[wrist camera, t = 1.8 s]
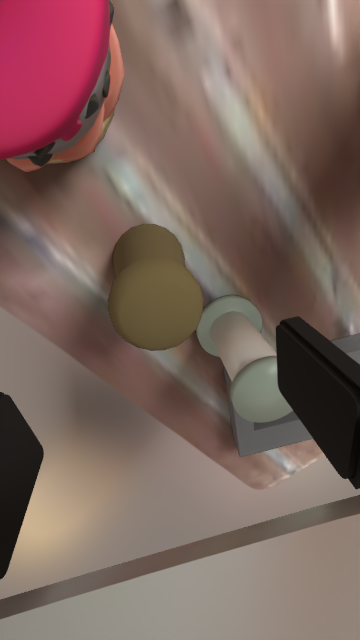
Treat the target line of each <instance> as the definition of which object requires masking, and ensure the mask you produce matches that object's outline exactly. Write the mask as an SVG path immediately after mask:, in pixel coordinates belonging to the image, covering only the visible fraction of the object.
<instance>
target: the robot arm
mask: <svg viewBox="0 0 360 640" xmlns="http://www.w3.org/2000/svg"><path fill="white" fill-rule="evenodd" d="M276 349H277V382H278V388H279V391H280V393H281V394H282V396H283V397H284V399H285V400H286V401H287V403H288V404H289V405H290V407H291V408H292V410H293V411H294V412H295V414H296V415H297V417H298V418H299V419H300V421H301V422H302V424H303V425H304V426H305V428H306V429H307V431H308V432H309V433H310V435H311V436H312V438H313V439H314V440H315V442H316V443H317V444H318V446H319V447H320V449H321V450H322V451H323V453H324V454H325V456H326V457H327V458H328V460H329V461H330V463H331V464H332V465H333V467H334V468H335V469H336V471H337V472H338V474H339V475H340V476H341V477H342V478H344V479H347V478H348V479H349V480H350V482H351V483H352V485H353V486H354V487H355V489H359V488H360V364H359V363H357V362H356V361H355V360H353V359H352V358H351V357H350V356H348V355H347V354H346V353H345V352H343V351H342V350H341V349H339V348H338V347H337V346H336V345H334V344H333V343H332V342H331V341H329V340H328V339H327V338H325V337H324V336H323V335H322V334H320V333H319V332H318V331H317V330H315V329H314V328H313V327H312V326H310V325H309V324H308V323H306V322H305V321H304V320H303V319H301V318H300V317H293V318H289V319H285V320H282V321H281V322H280V325H278V326H277V327H276ZM43 454H44V453H43V448H42V445H41V444H40V442H39V441H38V439H37V438H36V436H35V435H34V433H33V431H32V430H31V428H30V427H29V425H28V424H27V422H26V421H25V419H24V417H23V416H22V414H21V413H20V411H19V410H18V408H17V406H16V405H15V404H14V402H13V400H12V399H11V397H10V396H9V395H5V394H4V393H2V392H0V579H2V578H3V577H4V576H5V574H6V572H7V570H8V567H9V563H10V560H11V557H12V554H13V551H14V548H15V545H16V542H17V538H18V535H19V532H20V528H21V526H22V522H23V519H24V516H25V513H26V510H27V507H28V504H29V501H30V497H31V494H32V491H33V488H34V485H35V482H36V479H37V476H38V472H39V469H40V466H41V463H42V460H43ZM0 640H360V495H358V496H354V497H351V498H347V499H343V500H339V501H336V502H332V503H328V504H324V505H321V506H317V507H313V508H310V509H306V510H303V511H299V512H296V513H293V514H289V515H285V516H282V517H279V518H275V519H272V520H269V521H265V522H261V523H258V524H254V525H251V526H248V527H244V528H241V529H237V530H234V531H230V532H227V533H223V534H220V535H216V536H213V537H210V538H206V539H203V540H199V541H196V542H192V543H189V544H186V545H182V546H179V547H176V548H172V549H169V550H165V551H162V552H158V553H155V554H152V555H148V556H145V557H141V558H138V559H135V560H131V561H128V562H125V563H121V564H118V565H114V566H111V567H108V568H104V569H101V570H98V571H94V572H91V573H87V574H84V575H81V576H77V577H74V578H71V579H68V580H64V581H61V582H58V583H54V584H51V585H47V586H44V587H41V588H38V589H34V590H31V591H28V592H24V593H21V594H18V595H14V596H11V597H8V598H5V599H1V600H0Z"/></svg>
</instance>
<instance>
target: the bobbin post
mask: <svg viewBox="0 0 360 640" xmlns="http://www.w3.org/2000/svg"><path fill="white" fill-rule="evenodd" d="M261 330H262V317H261V314H260V312H259V311H258V309H257V308H256V307H255V306H254V305H253V304H252V303H251V302H250V301H249V300H247V299H246V298H244V297H241V296H236V295H228V296H223V297H219V298H217V299H215V300H213V301H211V302H210V303H209V304H207V305H206V306H205V307H204V309H203V310H202V317H201V320H200V322H199V324H198V327H197V329H196V334H197V337H198V340H199V342H200V344H201V346H202V348H203V349H204V350H205V351H206V352H208V353H209V354H211V355H213V356H216V357H220V358H221V360H222V362H223V364H224V366H225V368H226V371H227V373H228V375H229V377H230V379H231V381H232V383H231V387H230V398H231V401H232V403H233V406H234V408H235V410H236V412H237V413H238V414H239V415H240V416H241V417H242V418H244V419H245V420H248V421H251V422H258V423H263V422H270V421H274V420H277V419H279V418H282V417H284V416H286V415H287V414H289V413H290V412H292V411H293V410H292V408H291V407H290V405H289V404H288V403H287V401H286V400H285V399H284V397H283V396H282V394H281V393H280V391H279V388H278V382H277V354H276V352H275V351H274V350H273V349H272V347H271V346H270V345H269V344H268V342H267V341H266V340H265V339H264V337H263V336H262V335H261Z"/></svg>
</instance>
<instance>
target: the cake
mask: <svg viewBox="0 0 360 640" xmlns="http://www.w3.org/2000/svg"><path fill="white" fill-rule="evenodd" d="M113 14H114V7H113V4H112V3H111V2H110V1H109V0H0V160H1V159H6V160H7V161H8V162H9V163H10V164H12V165H14V166H15V167H17V168H19V169H21V170H22V171H24V172H29V171H33V170H36V169H40V168H42V167H43V166H45V165H46V164H56V163H69V162H71V161H73V160H80V159H81V158H83V157H85V156H87V155H89V154H91V153H93V152H94V151H95V148H96V146H97V144H98V143H99V142H100V141H101V140H102V139H103V138H104V136H105V133H106V131H107V129H108V127H109V125H110V122H111V120H112V118H113V116H114V109H115V106H116V104H117V102H118V100H119V96H120V92H121V87H122V83H123V79H124V75H125V72H124V67H123V62H122V57H121V51H120V46H119V41H118V38H117V35H116V33H115V30H114V27H113V25H112V19H113Z"/></svg>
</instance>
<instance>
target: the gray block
mask: <svg viewBox="0 0 360 640" xmlns="http://www.w3.org/2000/svg"><path fill="white" fill-rule="evenodd" d="M331 342H332V343H333V344H334V345H336V346H337V347H338V348H339V349H341V350H342V351H343V352H345V353H346V354H347V355H348V356H350V357H351V358H352V359H353V360H355V361H356V362H357V363H359V364H360V334H356V335H352V336H348V337H344V338H340V339H335V340H331ZM223 369H224V376H225V383H226V390H227V397H228V404H229V411H230V418H231V425H232V432H233V439H234V442H235V445H236V447H237V450H238V453H239V456H240V457H244V456H247V455H251V454H255V453H259V452H263V451H267V450H271V449H275V448H278V447H282V446H286V445H290V444H294V443H298V442H302V441H306V440H310V439H313V438H312V436H311V435H310V433H309V432H308V431H307V429H306V428H305V426H304V425H303V424H302V422H301V421H300V419H299V418H298V417H297V415H296V414H295V412H294V411H292V412H290V413H289V414H287V415H286V416H284V417H282V418H279V419H277V420H274V421H270V422H263V423H258V422H251V421H248V420H245V419H244V418H242V417H241V416H240V415H239V414H238V413H237V412H236V410H235V408H234V406H233V403H232V401H231V398H230V387H231V383H232V381H231V379H230V377H229V375H228V373H227V371H226V368H225V367H223Z"/></svg>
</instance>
